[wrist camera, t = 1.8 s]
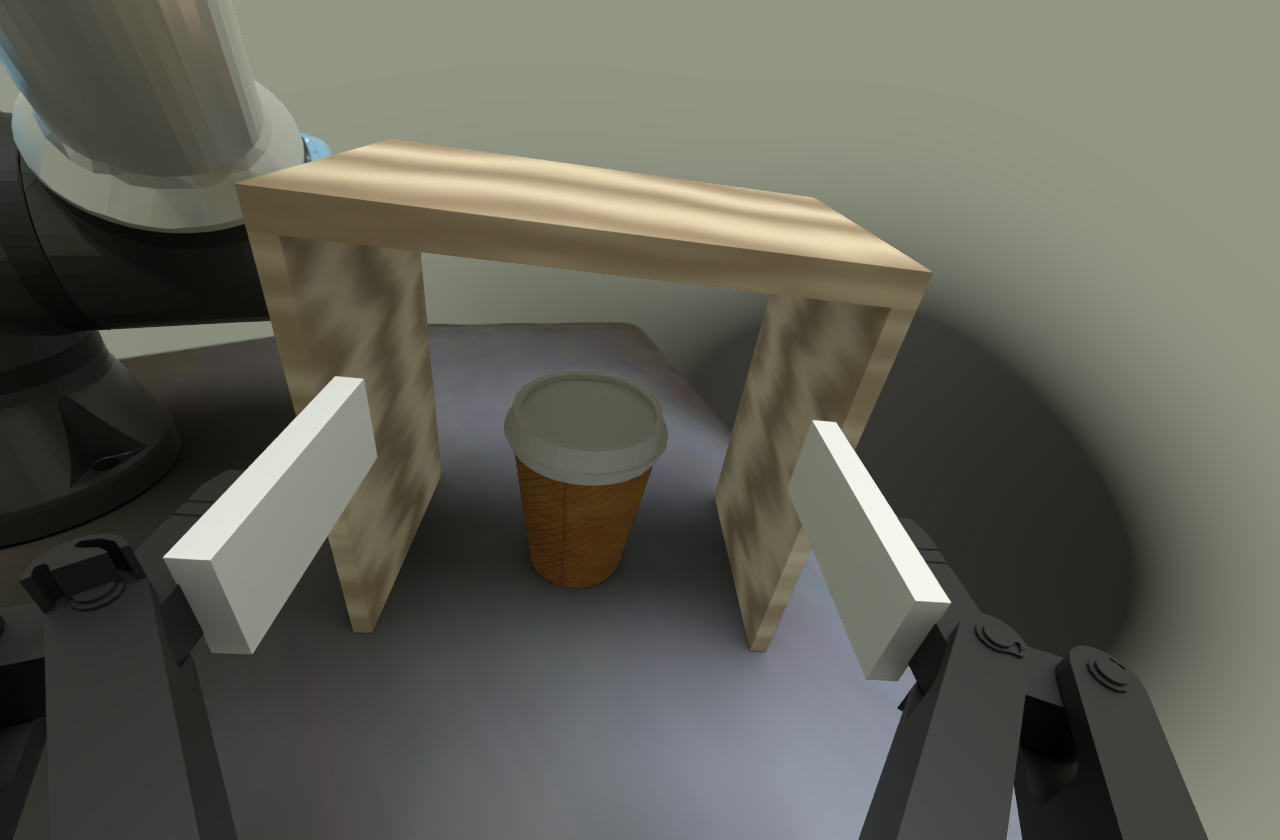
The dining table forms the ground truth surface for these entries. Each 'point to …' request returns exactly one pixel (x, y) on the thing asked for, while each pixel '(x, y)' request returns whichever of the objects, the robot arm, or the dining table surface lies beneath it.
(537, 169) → the plywood stool
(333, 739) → the dining table surface
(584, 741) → the dining table surface
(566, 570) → the disposable coffee cup
